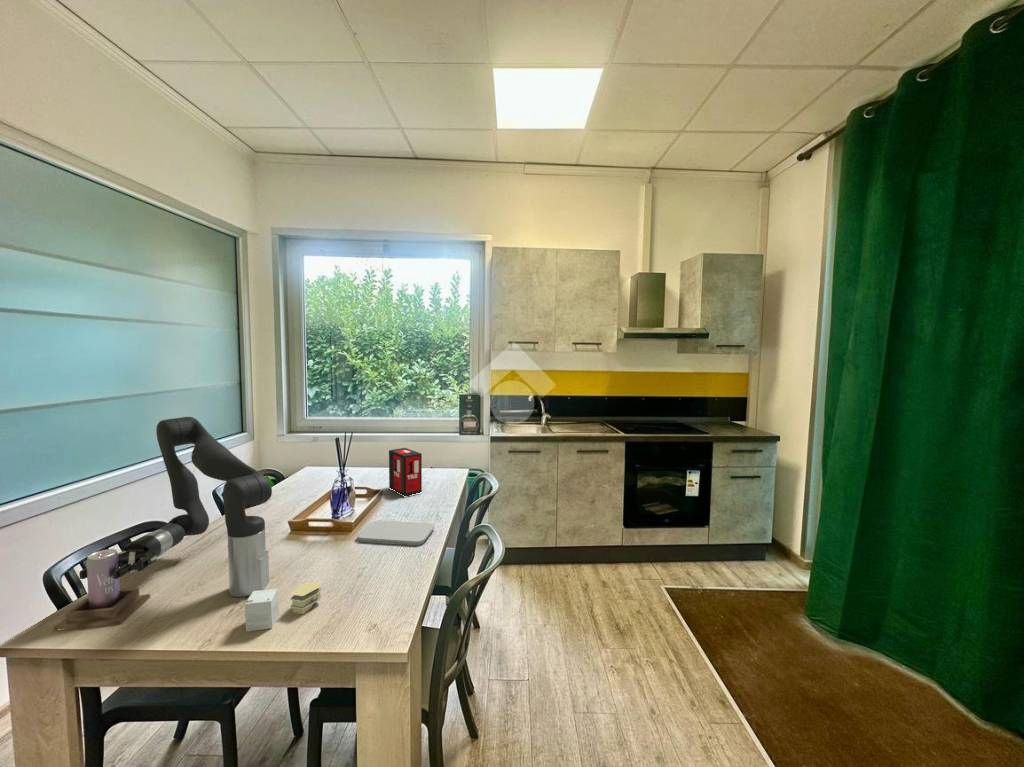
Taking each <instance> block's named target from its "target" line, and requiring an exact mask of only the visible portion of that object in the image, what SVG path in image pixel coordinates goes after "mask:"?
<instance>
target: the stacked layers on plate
mask: <svg viewBox="0 0 1024 767" xmlns="http://www.w3.org/2000/svg"><path fill="white" fill-rule="evenodd" d="M322 591H323V589H322V583H321V582H308V581H307V582H304V583H301V584H299V585H298V586H297V587H296V588H295V589H293V591H292V592H291V593H290V595H292V596H291V597H290V601H292V602H291V603H292V604H291V606H290V608H292V613H294V614H300V615H305V613H307V612H308V611H309V610H310V609H311V608H312V607H314V606H313V605H314V604H315V603H317V602H319V601H320V600H321V599H323V596H322V594H321V592H322Z"/></svg>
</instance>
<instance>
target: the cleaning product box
mask: <svg viewBox="0 0 1024 767" xmlns="http://www.w3.org/2000/svg"><path fill="white" fill-rule="evenodd" d="M422 457H423V456H422V453H421V452H418V451H415V450H412V449H409V448H406V447H402V448H394V449H389V450H388V477H389V479H388V480H389V482H388V483H389V484H388V486H389V488H391V489H393V490H395V491H396V492H398V493H400V494H402V495H404V496H409V495H412V494H416V493H420V492H423V490H422V489H423V488H422V486H423V485H422V483H423V482H422V481H423V477H422V475H423V474H422V473H423V472H422V465H423V464H422V462H423V460H422V459H423V458H422ZM389 488H388V489H389ZM396 492H395V493H396ZM398 493H397V494H398ZM400 494H399V495H400ZM402 495H401V496H402ZM404 496H403V497H404ZM409 497H410V496H409Z"/></svg>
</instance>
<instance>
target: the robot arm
mask: <svg viewBox="0 0 1024 767" xmlns="http://www.w3.org/2000/svg"><path fill="white" fill-rule="evenodd" d="M155 432H156V439H157V442H158V447H159V450H160V453H161V457H162V459H163V463H164V466H165V469H166V472H167V475H168V480H169V483H170V487H171V497H172V503H173V507H174V508H175V509H178V510H182V511H184V512H186V513H185V514H181V515H177V516H175V517H173V518H172V519H170V520H169V521H168V522H167V523H166V524H165V525H163V526H162V527H160V528H158V529H156V530H154V531H150V532H148V533H147V534H144V535H143V536H141V537H139V538H137V539H134V540H132V541H131V542H129V543H128V544H126V546H125V547H124V548H123V551H120V552H117V553H118V560H119V568H118V569H117V570H115V571H114V572H113V576H114V579H118V578H119V579H120V578H121V577H124V576H125V575H127V574H129V573H134V572H135V571H136V570H137V572H141V571H143V570H146V569H147V568H149V566H151V565H152V564H155V562H157V558H158V557H160V556H162V555H163V554H164V553H166V552H167V551H168V550H170V549H172V548H174V547H175V546H177V545H178V544H180V543H181V542H182V541H183V539H184V538H185V537H188V536H189V537H190V536H198V535H202V534H203V533H205V532H206V531H207V529H208V528H209V525H210V517H209V515H208V512H207V511H206V508H205V507H204V504H203V502H202V501H201V497H200V490H199V483H198V480H197V478H196V476H195V475H194V473H193V472H192V471H191V470H190V469H189V468H188V467H187V466H186V465H185V464H184V463H183V462H182V461H181V460H180V458H179V457H178V455H177V453H176V448H175V447H179V446H184V445H191V444H192V445H194V447H193V448H192V451H191V455H190V456H191V462H192V465H194V467H196V469H197V470H199V472H201V473H202V474H203V475H204V476H206V477H208V478H212V479H214V480H217V481H218V480H219V481H223V482H225V483H224V485H223V488H222V500H223V508H224V509H223V510H224V520H225V526H226V530H227V533H226V535H227V559H228V584H229V585H228V586H229V588H228V589H229V594H230V595H231V596H232V597H235V598H237V597H238V598H240V597H241V598H242V597H247V596H249V597H250V595H251V594H252V592H253V591H260V590H265V588H266V587H267V585H268V584H269V583H270V565H269V564H270V562H269V557H270V556H269V551H268V550H266V546H267V545H266V522H265V519H264V518H263V517H262V516H259V515H246V510H247V509H248V510H249V509H251V508H255V507H257V506H261V505H263V504H264V503H266V502H268V501H269V500H270V499H271V497H272V495H273V488H272V485H271V483H270V481H269V479H268V478H266V476H265V475H264V474H262V472H260V471H258V470H257V469H255V468H253V467H252V466H250V465H248V464H246V463H245V462H244V461H242V459H239V458H238V457H237V456H236V455H235V454H233V453H232V451H230V450H229V449H228V448H227V447H226V446H225V445H223V444H222V443H220V442H219V441H218V440H217V439H216V438H215V437H214V436H212V435H211V433H209V432H208V430H207V429H206V428H205V427H204V426H203V425H202V423H201V422H200V421H199V420H198V419H197V418H195V417H193V416H183V417H176V418H175V417H174V418H168V419H167V418H166V419H163V420H159V421H158V423H157V425H156V431H155ZM78 574H79V579H80V580H85V579H87V567H85V568H83V569H82V570H80V571H79V573H78Z"/></svg>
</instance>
